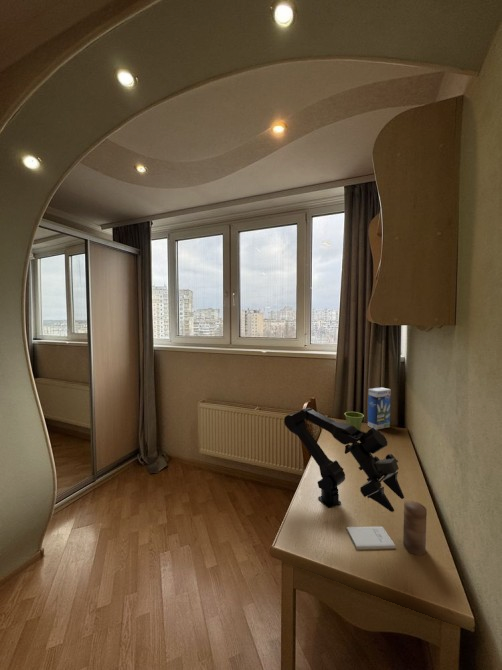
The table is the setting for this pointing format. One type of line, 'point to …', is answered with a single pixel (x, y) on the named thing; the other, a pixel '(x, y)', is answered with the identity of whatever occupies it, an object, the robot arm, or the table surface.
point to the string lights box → (379, 408)
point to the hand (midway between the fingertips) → (398, 504)
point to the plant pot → (354, 419)
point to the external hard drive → (370, 538)
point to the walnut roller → (414, 527)
